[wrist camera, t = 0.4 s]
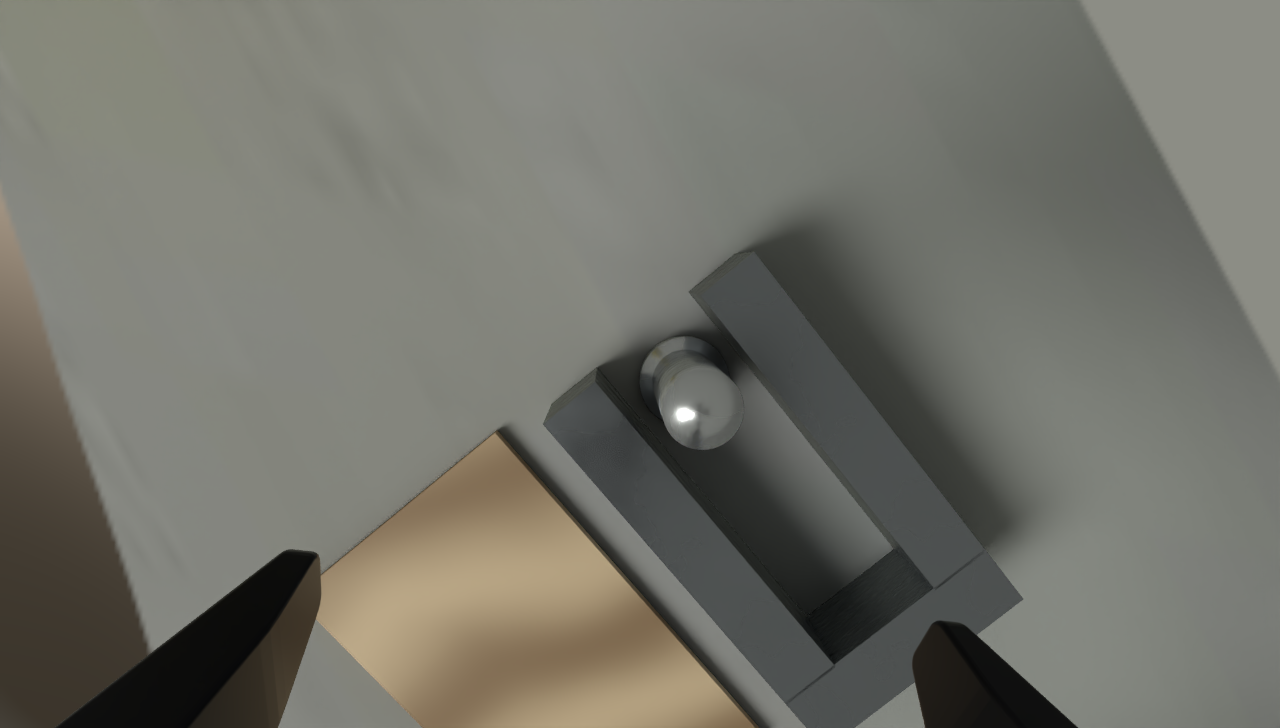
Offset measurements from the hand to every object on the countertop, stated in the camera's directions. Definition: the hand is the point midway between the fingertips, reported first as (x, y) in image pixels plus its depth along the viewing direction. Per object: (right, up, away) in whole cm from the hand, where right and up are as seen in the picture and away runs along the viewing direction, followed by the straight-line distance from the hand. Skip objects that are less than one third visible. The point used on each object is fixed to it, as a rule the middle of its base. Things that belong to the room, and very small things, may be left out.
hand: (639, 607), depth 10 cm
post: (+1, +3, +13) cm, 14 cm away
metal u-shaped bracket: (+4, -1, +14) cm, 15 cm away
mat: (-4, -7, +14) cm, 17 cm away
